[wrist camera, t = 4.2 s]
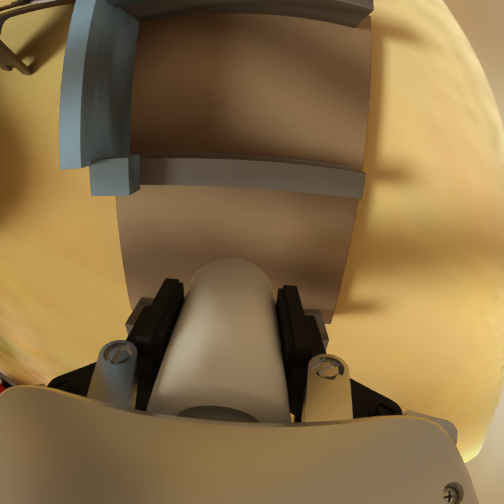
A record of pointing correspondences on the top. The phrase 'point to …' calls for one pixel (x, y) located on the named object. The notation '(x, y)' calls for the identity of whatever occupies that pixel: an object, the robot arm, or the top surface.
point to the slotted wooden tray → (222, 135)
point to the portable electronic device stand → (3, 55)
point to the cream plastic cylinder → (225, 350)
